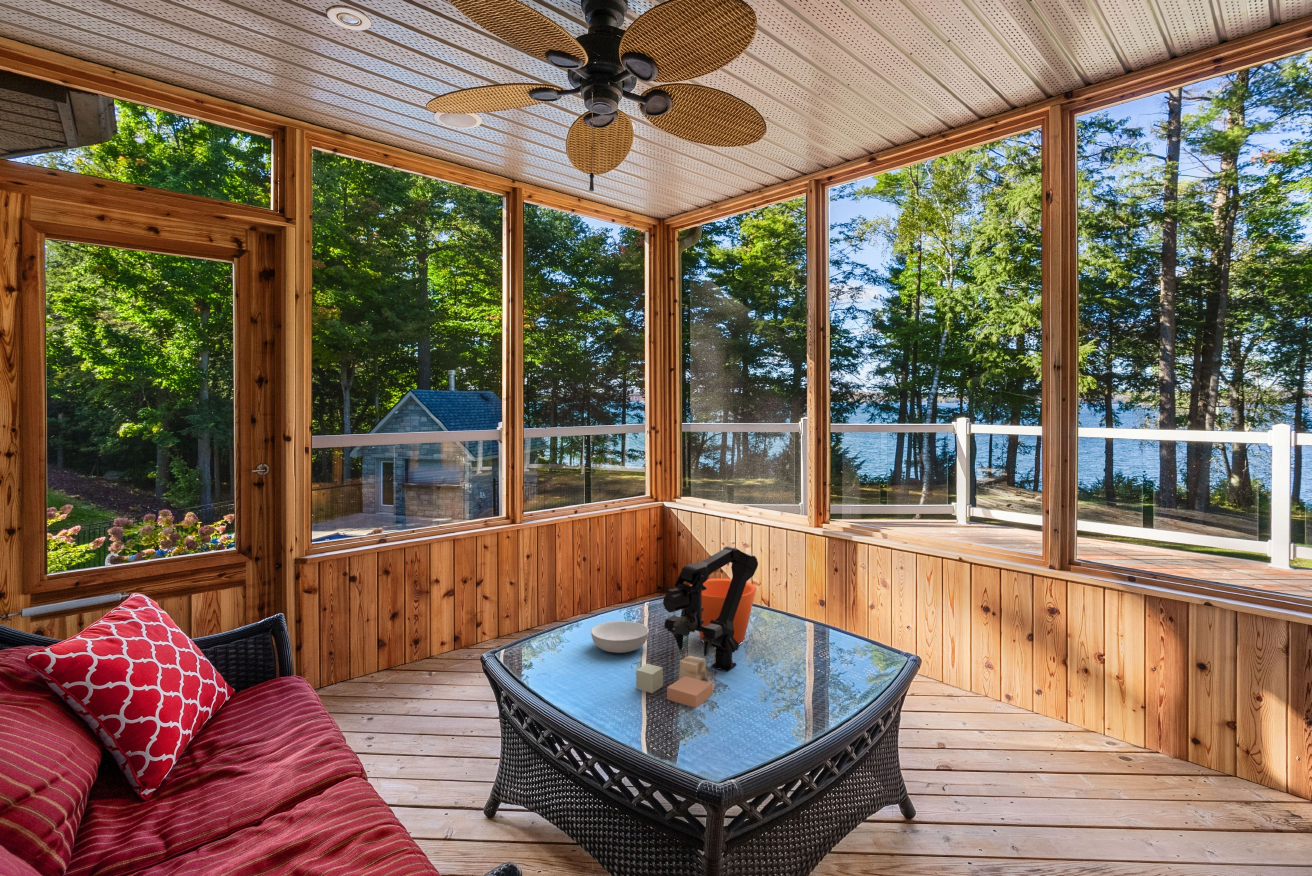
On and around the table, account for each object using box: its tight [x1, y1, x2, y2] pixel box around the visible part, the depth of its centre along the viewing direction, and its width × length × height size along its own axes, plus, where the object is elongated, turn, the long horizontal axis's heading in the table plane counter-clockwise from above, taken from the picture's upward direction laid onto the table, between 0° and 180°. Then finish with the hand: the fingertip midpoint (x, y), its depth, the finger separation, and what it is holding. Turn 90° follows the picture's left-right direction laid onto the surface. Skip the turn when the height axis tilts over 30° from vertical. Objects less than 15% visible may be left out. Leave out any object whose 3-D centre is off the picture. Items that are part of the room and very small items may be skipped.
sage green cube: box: [635, 663, 664, 694], centre depth 202 cm, size 6×6×6 cm
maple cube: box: [679, 654, 706, 681], centre depth 209 cm, size 6×6×6 cm
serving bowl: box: [590, 620, 650, 654], centre depth 235 cm, size 21×21×7 cm
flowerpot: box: [689, 577, 757, 645], centre depth 243 cm, size 25×25×20 cm
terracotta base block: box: [666, 676, 714, 709], centre depth 196 cm, size 10×10×4 cm
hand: (692, 652), depth 209 cm, fingers open, 9 cm apart
